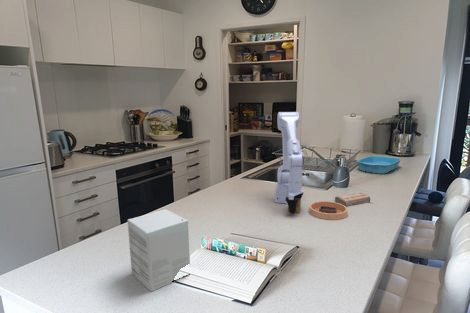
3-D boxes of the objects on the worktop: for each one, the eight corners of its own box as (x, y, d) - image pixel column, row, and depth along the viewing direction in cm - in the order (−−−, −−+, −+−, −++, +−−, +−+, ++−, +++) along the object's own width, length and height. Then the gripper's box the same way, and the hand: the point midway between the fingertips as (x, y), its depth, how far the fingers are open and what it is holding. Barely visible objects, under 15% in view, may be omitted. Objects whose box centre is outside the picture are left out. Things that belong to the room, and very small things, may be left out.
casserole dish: (371, 162, 243) (372, 153, 242) (403, 167, 229) (404, 157, 227) (351, 171, 217) (352, 161, 216) (385, 177, 202) (386, 166, 201)
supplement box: (169, 258, 106) (166, 208, 103) (191, 274, 97) (189, 220, 93) (130, 273, 98) (126, 219, 94) (150, 292, 88) (146, 233, 85)
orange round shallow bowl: (306, 218, 138) (306, 211, 137) (312, 206, 152) (313, 199, 151) (345, 224, 131) (345, 216, 131) (348, 211, 146) (348, 203, 145)
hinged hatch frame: (318, 213, 141) (318, 209, 140) (320, 209, 145) (320, 205, 145) (335, 215, 138) (336, 211, 138) (337, 212, 142) (337, 207, 142)
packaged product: (359, 190, 162) (374, 196, 153) (358, 199, 163) (373, 205, 154) (329, 194, 155) (344, 201, 146) (329, 204, 156) (343, 211, 147)
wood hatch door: (288, 213, 144) (288, 198, 142) (289, 212, 146) (289, 197, 144) (299, 215, 142) (299, 200, 140) (300, 213, 144) (300, 198, 142)
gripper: (300, 186, 133) (299, 217, 135) (307, 177, 146) (306, 206, 148) (284, 184, 135) (283, 214, 138) (292, 176, 148) (291, 204, 151)
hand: (294, 210), depth 143 cm, fingers open, 7 cm apart
